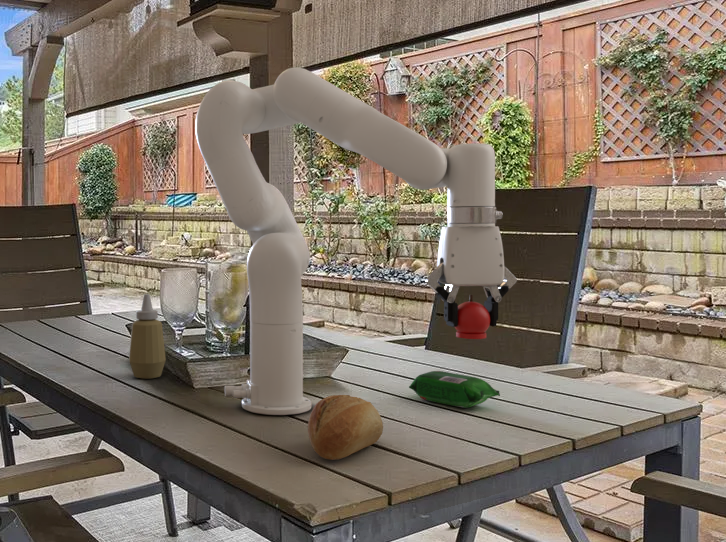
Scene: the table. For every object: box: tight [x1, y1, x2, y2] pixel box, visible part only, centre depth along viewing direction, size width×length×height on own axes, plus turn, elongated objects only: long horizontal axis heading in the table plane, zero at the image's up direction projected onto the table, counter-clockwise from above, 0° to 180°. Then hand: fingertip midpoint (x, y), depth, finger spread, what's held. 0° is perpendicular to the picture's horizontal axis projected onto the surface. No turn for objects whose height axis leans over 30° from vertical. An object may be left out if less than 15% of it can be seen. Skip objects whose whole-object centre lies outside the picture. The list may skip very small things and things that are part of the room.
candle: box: [454, 294, 490, 340], centre depth 126 cm, size 6×6×7 cm
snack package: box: [408, 370, 501, 409], centre depth 139 cm, size 7×16×5 cm, turn 35°
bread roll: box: [307, 394, 384, 461], centre depth 110 cm, size 10×15×8 cm, turn 146°
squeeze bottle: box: [128, 293, 166, 380], centre depth 164 cm, size 8×8×18 cm
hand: (471, 324), depth 126 cm, fingers closed on candle, 6 cm apart
